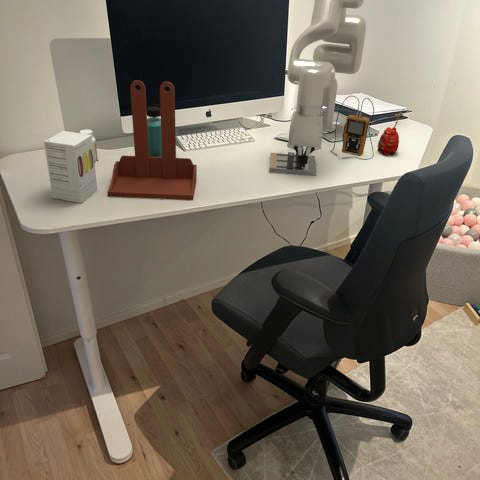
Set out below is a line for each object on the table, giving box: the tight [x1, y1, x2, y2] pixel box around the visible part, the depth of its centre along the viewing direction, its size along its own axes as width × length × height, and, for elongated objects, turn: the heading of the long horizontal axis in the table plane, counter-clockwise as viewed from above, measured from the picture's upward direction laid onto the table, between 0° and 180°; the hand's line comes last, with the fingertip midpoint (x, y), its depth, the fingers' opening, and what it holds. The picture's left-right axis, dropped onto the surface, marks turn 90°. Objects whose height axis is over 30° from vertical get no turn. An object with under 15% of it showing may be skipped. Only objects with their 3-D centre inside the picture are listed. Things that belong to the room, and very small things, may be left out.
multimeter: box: [330, 95, 375, 161], centre depth 175 cm, size 15×10×20 cm
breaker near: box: [287, 151, 295, 168], centre depth 164 cm, size 2×2×5 cm
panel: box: [268, 152, 318, 177], centre depth 170 cm, size 13×15×2 cm
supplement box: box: [43, 130, 98, 204], centre depth 142 cm, size 10×9×17 cm
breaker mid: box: [295, 146, 305, 163], centre depth 168 cm, size 2×2×5 cm
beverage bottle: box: [146, 106, 162, 157], centre depth 158 cm, size 6×7×20 cm
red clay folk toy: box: [377, 110, 402, 157], centre depth 181 cm, size 8×7×15 cm
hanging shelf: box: [106, 79, 198, 201], centre depth 144 cm, size 24×13×30 cm, turn 90°
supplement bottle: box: [78, 129, 98, 163], centre depth 165 cm, size 5×5×10 cm
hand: (302, 165), depth 165 cm, fingers closed
